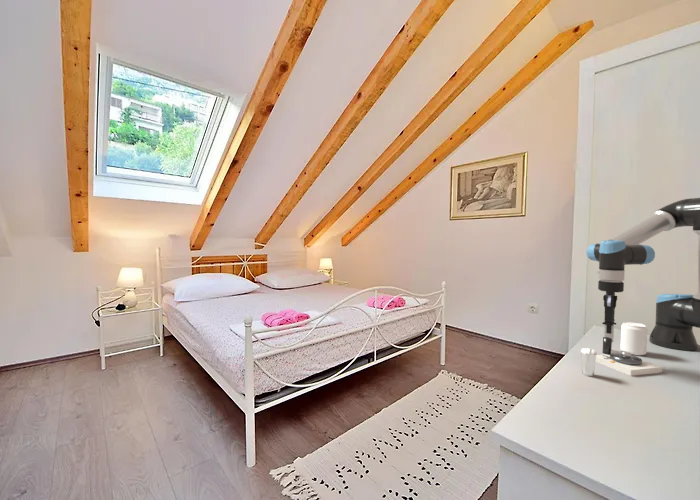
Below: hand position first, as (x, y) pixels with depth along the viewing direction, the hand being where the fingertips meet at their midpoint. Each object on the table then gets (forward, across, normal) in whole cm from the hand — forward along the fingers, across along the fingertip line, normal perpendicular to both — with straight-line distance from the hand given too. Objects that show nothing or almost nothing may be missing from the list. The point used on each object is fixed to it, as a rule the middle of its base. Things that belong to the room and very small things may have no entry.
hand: (608, 341), depth 123 cm
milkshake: (+8, +21, -4) cm, 22 cm away
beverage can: (+9, -19, +7) cm, 22 cm away
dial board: (+8, +2, +5) cm, 10 cm away
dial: (+6, +2, +4) cm, 7 cm away
